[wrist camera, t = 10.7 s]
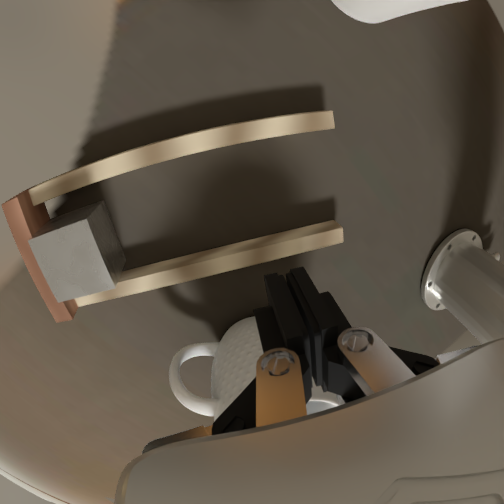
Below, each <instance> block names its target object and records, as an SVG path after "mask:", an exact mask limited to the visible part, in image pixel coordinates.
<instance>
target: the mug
mask: <svg viewBox="0 0 504 504" xmlns="http://www.w3.org/2000/svg"><path fill="white" fill-rule="evenodd" d="M262 354H263V349H262V345H261V341H260V336H259V332H258V328H257V323H256V319H255V316H253V317H248V318H245V319H243V320H240V321H238V322H237V323H235V324H234V325H233V326H231V327H230V328H229V329H228V331H227V332H226V333H225V334H224V336H223V338H222V339H221V341H220V342H208V343H196V344H192V345H188V346H186V347H184V348H182V349H181V350H179V351H178V352H177V353H176V354H175V356H174V357H173V359H172V362H171V364H170V369H169V381H170V385H171V388H172V391H173V393H174V395H175V396H176V398H177V399H178V400H179V401H180V402H181V403H182V404H183V405H184V406H185V407H187V408H188V409H190V410H192V411H194V412H196V413H199V414H202V415H206V416H214V422H215V420H216V419H217V418H218V417H219V416H220V415H221V414H222V413H223V412H224V410H225V409H226V408H227V407H228V406H229V405H230V404H231V403H232V402H233V401H234V400H235V399H236V398H237V397H238V396H239V395H240V393H241V392H242V391H243V390H244V389H245V388H246V387H247V386H248V385H249V384H250V383H251V381H252V380H253V379H254V378H255V377H256V364H257V360H258V359H259V357H260V356H261V355H262ZM201 355H205V356H214V361H213V367H212V377H211V393H212V398H209V399H208V398H201V397H198V396H196V395H194V394H192V393H191V392H190V391H189V390H188V389H187V388H186V387H185V386H184V384H183V382H182V380H181V378H180V373H179V369H180V366H181V364H182V363H183V362H184V361H185V360H187V359H189V358H192V357H195V356H201ZM312 383H313V388H311V389H312V397H311V398H310V400H309V401H308V403H307V404H306V410H307V415H309V414H313V413H316V412H320V411H323V410H326V409H330V408H333V407H336V406H339V405H340V403H339V402H338V400H337V397H336V394H334V393H331V392H328V391H327V392H323V390H322V387H321V386H316V385H315V382H314V380H313V377H312Z"/></svg>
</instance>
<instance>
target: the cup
mask: <svg viewBox="0 0 504 504" xmlns="http://www.w3.org/2000/svg"><path fill="white" fill-rule="evenodd" d="M331 1H332V2H333V3H334V4H335V5H336V6H337V7H338V8H339V9H340V10H341V11H343V12H344V13H345V14H347V15H348V16H350V17H352V18H354V19H356V20H359V21H362V22H366V23H380V22H383V21H386V20H390V19H393V18H396V17H399V16H403V15H406V14H410V13H413V12H417V11H421V10H424V9H428V8H433V7H437V6H441V5H446V4H451V3H456V2H462V1H467V0H331Z"/></svg>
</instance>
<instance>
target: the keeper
mask: <svg viewBox="0 0 504 504" xmlns="http://www.w3.org/2000/svg"><path fill="white" fill-rule="evenodd" d="M28 243H29V245H30V247H31V250H32V252H33V254H34V256H35V259H36V261H37V263H38V265H39V267H40V269H41V271H42V273H43V275H44V277H45V279H46V281H47V283H48V285H49V287H50V289H51V291H52V293H53V295H54V296H55V298H56V300H57V302H58V303H59V302H63V301H67V300H71V299H75V298H79V297H83V296H87V295H91V294H95V293H99V292H103V291H107V290H111V289H115V288H116V286H117V283H118V280H119V278H120V275H121V272H122V270H123V267H124V264H125V262H126V258H125V255H124V253H123V250H122V248H121V245H120V243H119V240H118V237H117V235H116V232H115V229H114V226H113V224H112V221H111V218H110V215H109V212H108V210H107V207H106V204H105V201H104V200H102V201H99V202H96V203H93V204H91V205H88V206H85V207H82V208H79V209H76V210H74V211H71V212H68V213H66V214H63V215H60V216H58V217H55V218H53V219H50V220H49V221H48V222H47V223H46V224H45V225H44V226H43V227H42V228H40V229H39V230H38V231H37V232H36V233H35V234H34V235H33V236H32V237H31V238H30V239H29V240H28Z"/></svg>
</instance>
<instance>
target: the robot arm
mask: <svg viewBox="0 0 504 504" xmlns="http://www.w3.org/2000/svg"><path fill="white" fill-rule="evenodd" d="M499 259H500V255H499V253H498V252H495V253H493V254H489V253H488V252H486V251H485V250H483V246H482V241H481V239H480V237H479V235H478V234H477V233H475V232H474V231H472V230H470V229H460V230H457V231H455V232H453V233H452V234H450V235H449V236H448V237H447V238H446V239H444V241H443V242H442V243H441V244H440V245H439V246H438V248H437V249H436V250H435V252H434V253H433V255H432V257H431V258H430V260H429V262H428V264H427V267H426V269H425V272H424V275H423V279H422V284H421V294H422V298H423V301H424V302H425V303H426V304H427V305H428V307H430V308H431V309H433V310H442V309H446V308H447V309H448V310H449V311H450V312H451V313H452V314H453V315H454V316H455V317H456V318H457V319H458V320H459V321H460V322H461V323H462V324H463V325H464V326H465V327H466V328H467V329H468V330H469V331H470V332H471V333H472V334H473V335H474V336H475V337H476V338H477V339H478V340H479V341H480V342H481V343H482V345H479V346H472V347H468V348H465V349H461V350H457V351H453V352H450V353H445V354H441V355H437V357H436V359H434V358H432V357H429V356H426V355H422V354H418V353H413V352H409V351H405V350H401V349H397V348H393V347H389V346H387V345H386V344H385V343H384V342H383V341H382V340H381V339H380V338H379V337H378V336H377V335H376V333H375V332H373V331H372V330H371V329H368V328H365V327H351V325H350V324H349V322H348V321H347V319H346V317H345V316H344V314H343V313H342V311H341V309H340V308H339V306H338V305H337V303H336V302H335V300H334V298H333V297H332V295H331V294H330V293H329V292H328V291H327V292H324V293H320V294H319V292H318V290H317V289H316V287H315V285H314V284H313V282H312V280H311V279H310V277H309V275H308V274H307V272H306V270H305V269H304V267H299V268H294V269H290V273H288V274H286V279H287V283H286V281H285V279H284V277H283V275H280V276H278V274H277V273H273V274H269V275H264V280H265V285H266V290H267V296H268V301H269V306H267V307H263V308H258V309H254V315H255V319H256V323H257V328H258V332H259V336H260V341H261V345H262V349H263V354H262V355H261V356H260V357H259V359H258V360H257V364H256V377H255V378H254V379H253V380H252V381H251V383H250V384H249V385H248V386H247V387H246V388H245V389H244V390H243V391H242V392H241V393H240V395H239V396H238V397H237V398H236V399H235V400H234V401H233V402H232V403H231V404H230V405H229V406H228V407H227V408H226V409H225V410H224V412H223V413H222V414H221V415H220V416H219V417H218V418H217V419H216V420H215V422H214V423H213V425H210V426H207V427H204V426H203V425H202V426H199V427H196V428H193V429H189V430H186V431H183V432H180V433H177V434H173V435H170V436H166V437H163V438H159V439H156V440H153V441H151V442H149V443H148V444H147V445H146V446H145V447H144V449H143V451H142V455H140V456H138V457H137V458H135V459H133V460H132V461H131V462H130V463H128V464H127V466H126V467H125V468H124V470H123V471H122V473H121V476H120V478H119V481H118V485H117V489H116V494H115V501H114V504H504V265H503V264H502V263H500V262H499V261H498V260H499ZM312 377H313V380H314V382H315V385H316V386H321V387H322V390H323V392H327V391H328V392H331V393H334V394H336V397H337V400H338V402H339V403H340V405H339V406H336V407H333V408H330V409H326V410H323V411H320V412H316V413H313V414H309V415H307V410H306V404H307V403H308V401H309V400H310V398H311V397H312V389H311V388H313V383H312Z"/></svg>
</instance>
